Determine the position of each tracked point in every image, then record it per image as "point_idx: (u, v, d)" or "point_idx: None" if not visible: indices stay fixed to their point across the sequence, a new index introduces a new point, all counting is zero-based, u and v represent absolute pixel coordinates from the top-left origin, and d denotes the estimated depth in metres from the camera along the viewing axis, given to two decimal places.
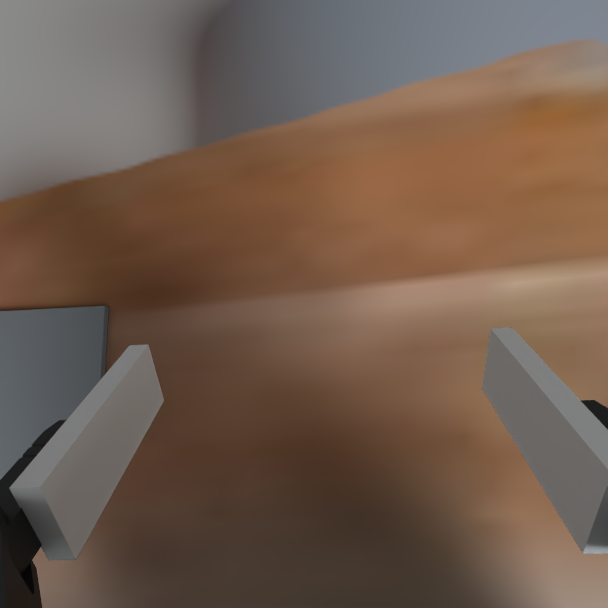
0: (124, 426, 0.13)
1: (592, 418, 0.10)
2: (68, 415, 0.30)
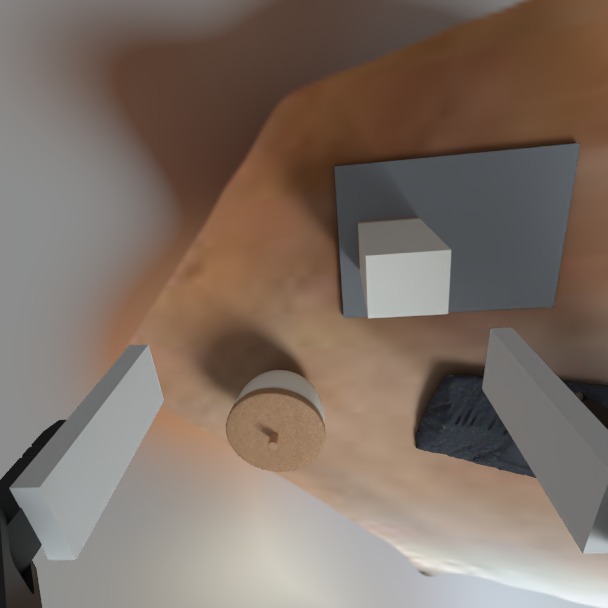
0: (124, 426, 0.13)
1: (592, 418, 0.10)
2: (539, 239, 0.39)
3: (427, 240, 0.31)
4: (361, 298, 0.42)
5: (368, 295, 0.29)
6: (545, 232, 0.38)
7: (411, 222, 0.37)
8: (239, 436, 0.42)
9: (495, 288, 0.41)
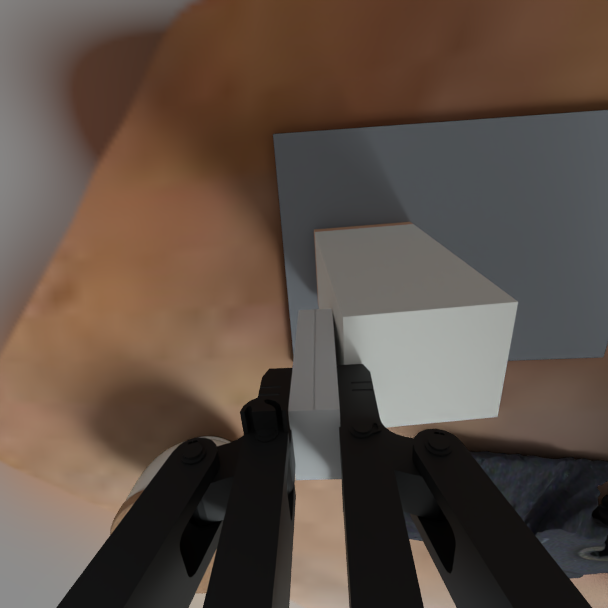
0: None
1: (333, 374, 0.12)
2: (594, 259, 0.25)
3: (452, 273, 0.16)
4: None
5: None
6: (604, 249, 0.24)
7: (402, 231, 0.22)
8: None
9: (520, 330, 0.27)
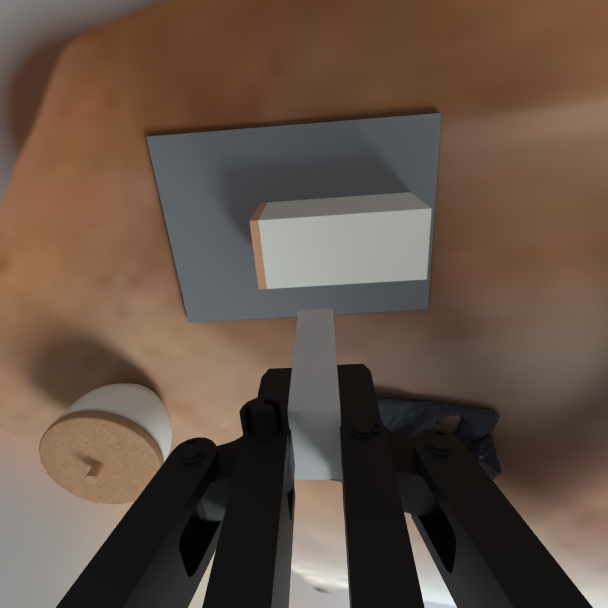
0: None
1: (334, 374, 0.12)
2: None
3: (374, 197, 0.30)
4: (205, 299, 0.35)
5: (428, 253, 0.27)
6: None
7: (284, 203, 0.30)
8: (57, 467, 0.35)
9: (360, 288, 0.35)
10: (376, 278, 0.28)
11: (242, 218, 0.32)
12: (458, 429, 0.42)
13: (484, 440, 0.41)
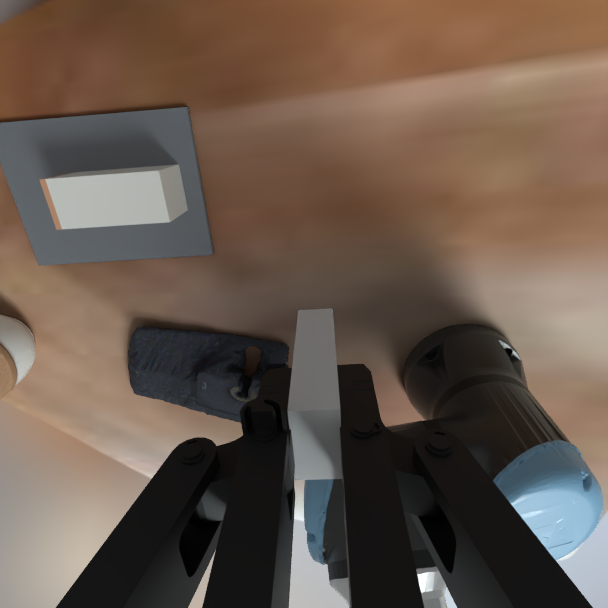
0: None
1: (334, 374, 0.12)
2: None
3: (148, 167, 0.42)
4: (48, 247, 0.48)
5: (166, 203, 0.39)
6: (184, 187, 0.44)
7: (86, 172, 0.43)
8: None
9: (159, 238, 0.47)
10: (135, 221, 0.40)
11: None
12: (260, 359, 0.54)
13: None
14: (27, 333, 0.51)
